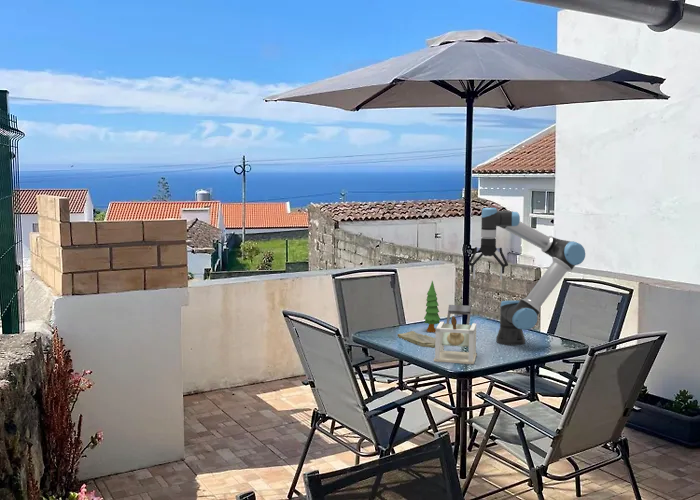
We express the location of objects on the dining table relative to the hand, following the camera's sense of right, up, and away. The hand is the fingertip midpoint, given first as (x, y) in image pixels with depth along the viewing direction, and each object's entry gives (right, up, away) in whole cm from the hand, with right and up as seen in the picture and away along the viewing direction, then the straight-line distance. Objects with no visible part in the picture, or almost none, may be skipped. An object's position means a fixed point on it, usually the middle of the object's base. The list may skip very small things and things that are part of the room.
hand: (487, 279), depth 353 cm
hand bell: (-19, -28, -18) cm, 38 cm away
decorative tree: (-23, -33, +46) cm, 61 cm away
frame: (-19, -38, -16) cm, 45 cm away
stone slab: (-32, -35, +20) cm, 52 cm away
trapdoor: (-17, -23, -11) cm, 31 cm away
